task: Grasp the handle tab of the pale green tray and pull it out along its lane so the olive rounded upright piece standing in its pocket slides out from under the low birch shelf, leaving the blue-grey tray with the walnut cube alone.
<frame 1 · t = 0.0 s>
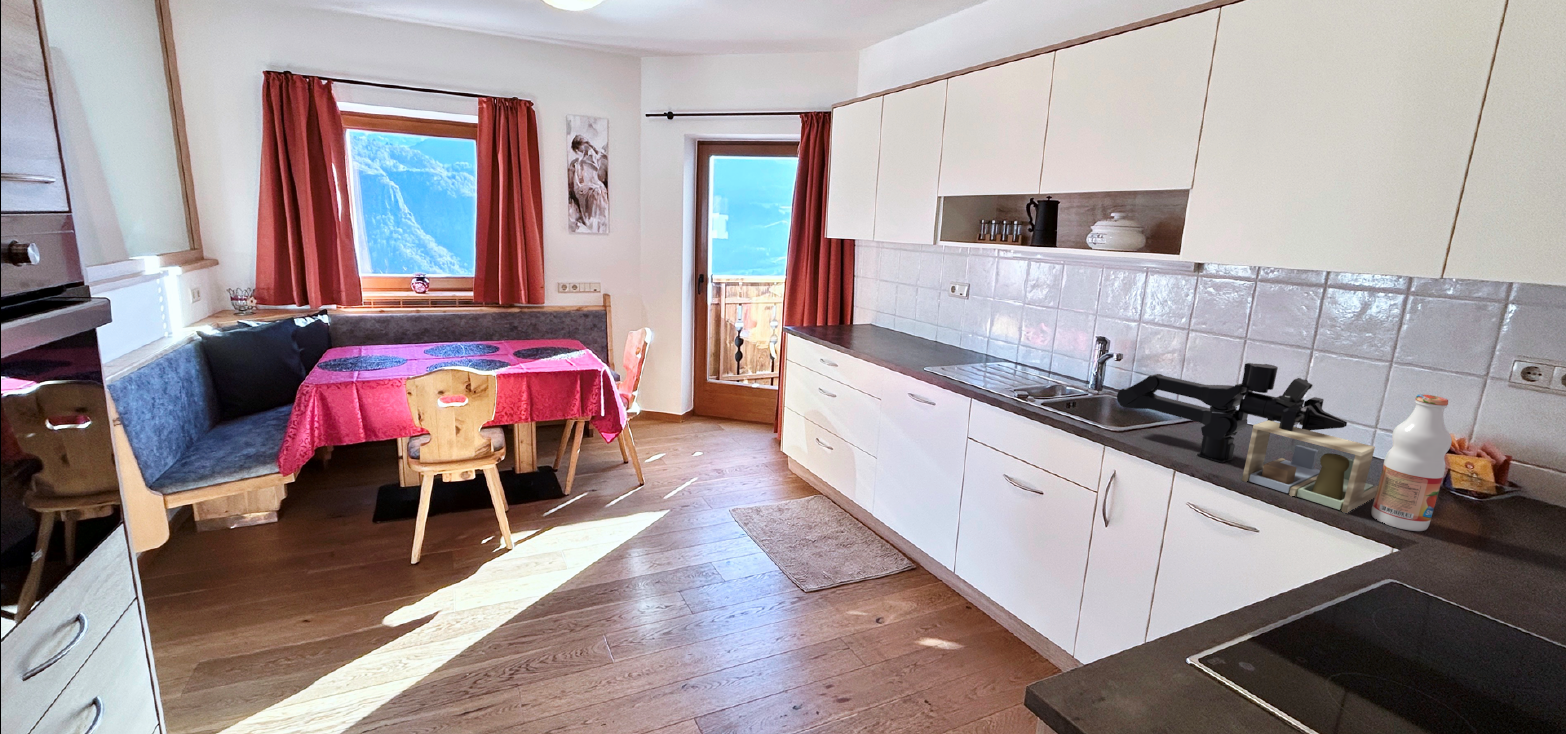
hand: (1345, 424, 159), 17 cm above the worktop, tool horizontal, fingers closed
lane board: (1309, 487, 164), on the worktop
walnut cube: (1276, 485, 165), resting in blue-grey tray
pale green tray: (1338, 481, 159), point 4 cm above the worktop, slide at 0.0 cm
olive rounded upright piece: (1325, 500, 157), resting in pale green tray
fruit juice: (1398, 523, 147), on the worktop
blue-grey tray: (1288, 466, 167), point 4 cm above the worktop, slide at 0.0 cm
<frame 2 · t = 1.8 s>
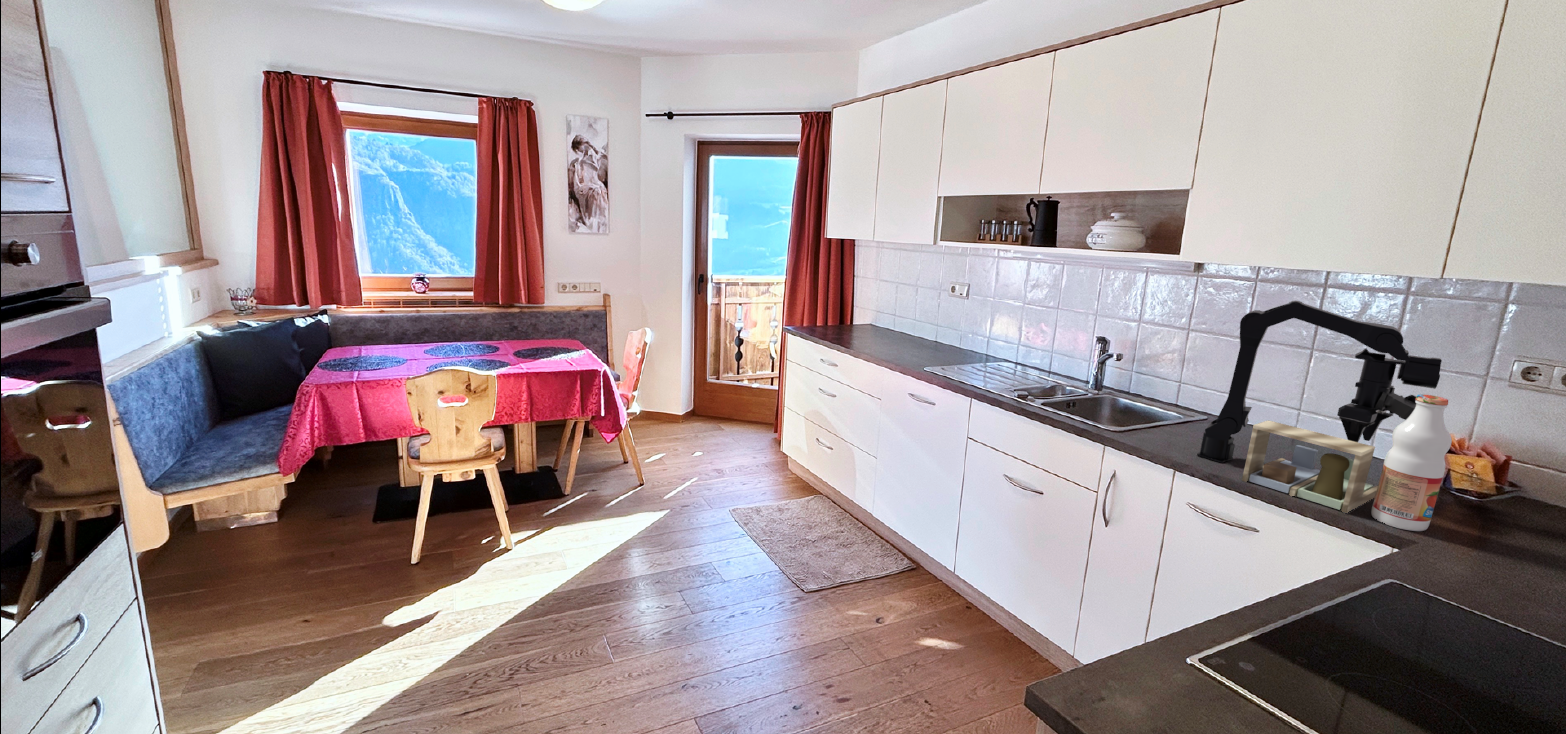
hand: (1359, 443, 163), 11 cm above the worktop, tool pointing down, fingers open, 9 cm apart
nothing on the worktop moved.
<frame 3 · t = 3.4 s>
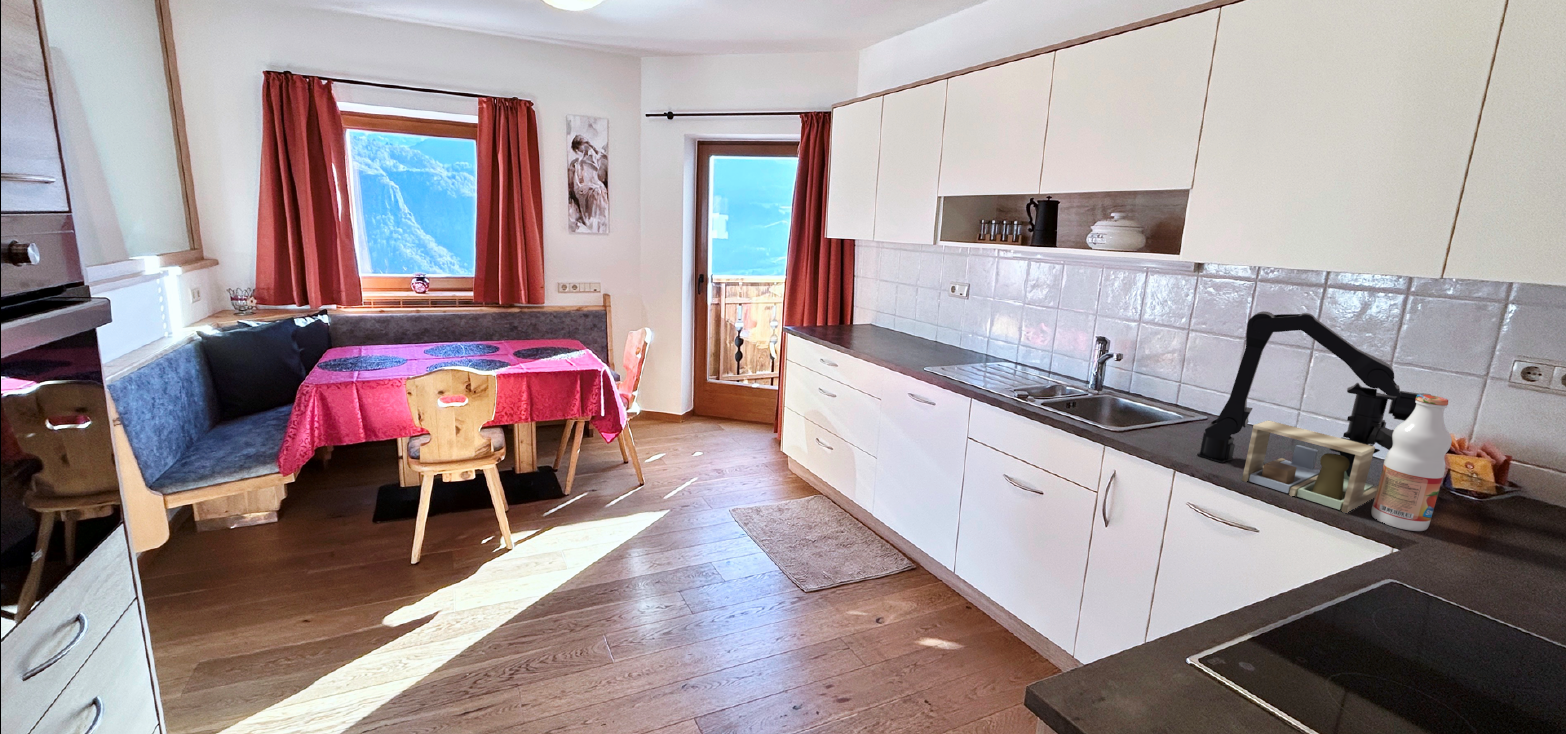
hand: (1351, 476, 165), 3 cm above the worktop, tool pointing down, fingers closed on pale green tray, 2 cm apart
pale green tray: (1338, 481, 159), point 4 cm above the worktop, slide at 0.0 cm, touching gripper
everything else where it was.
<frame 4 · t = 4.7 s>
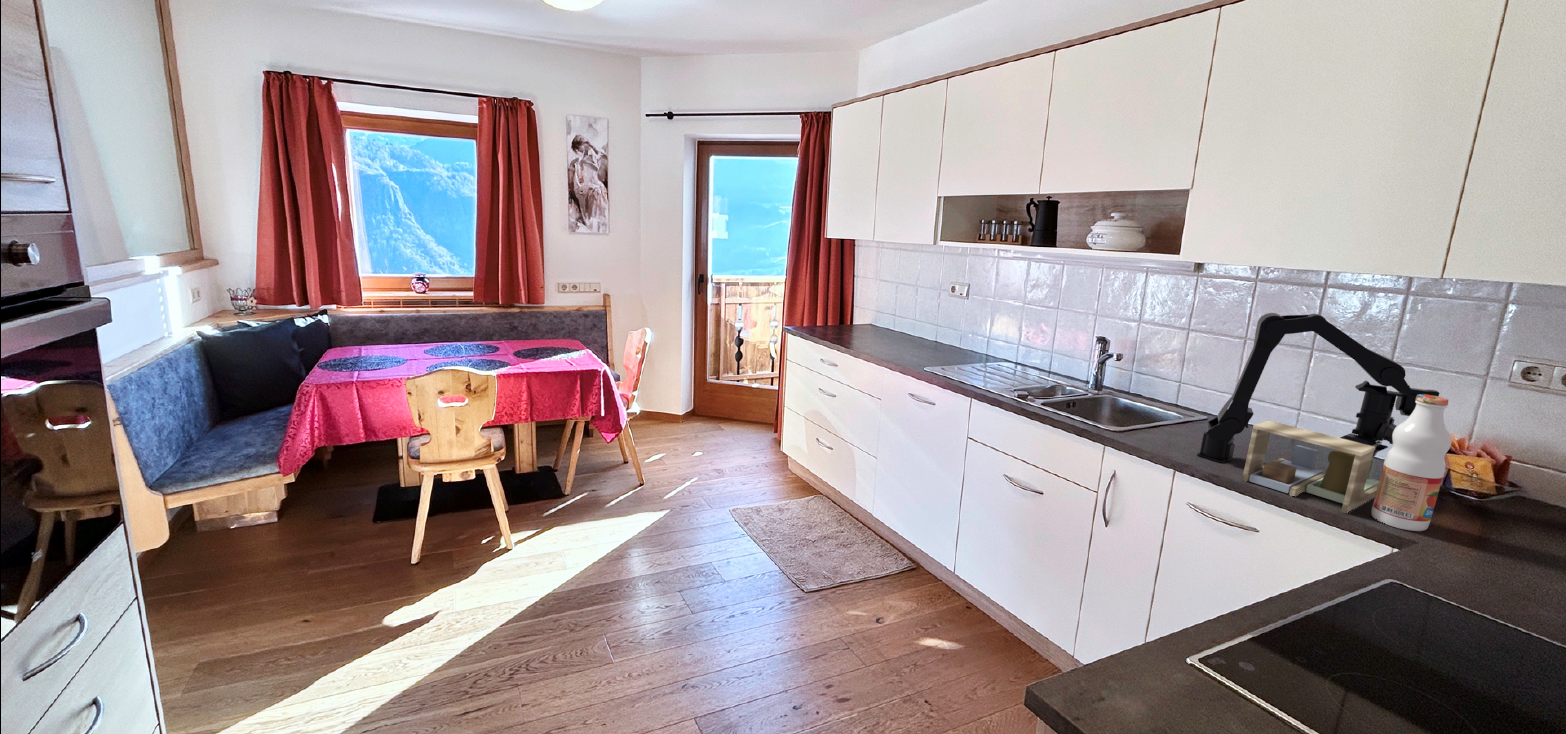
hand: (1359, 472, 168), 3 cm above the worktop, tool pointing down, fingers closed
pale green tray: (1346, 477, 162), point 4 cm above the worktop, slide at 5.1 cm, touching gripper, olive rounded upright piece
olive rounded upright piece: (1333, 497, 160), resting in pale green tray
everything else where it was.
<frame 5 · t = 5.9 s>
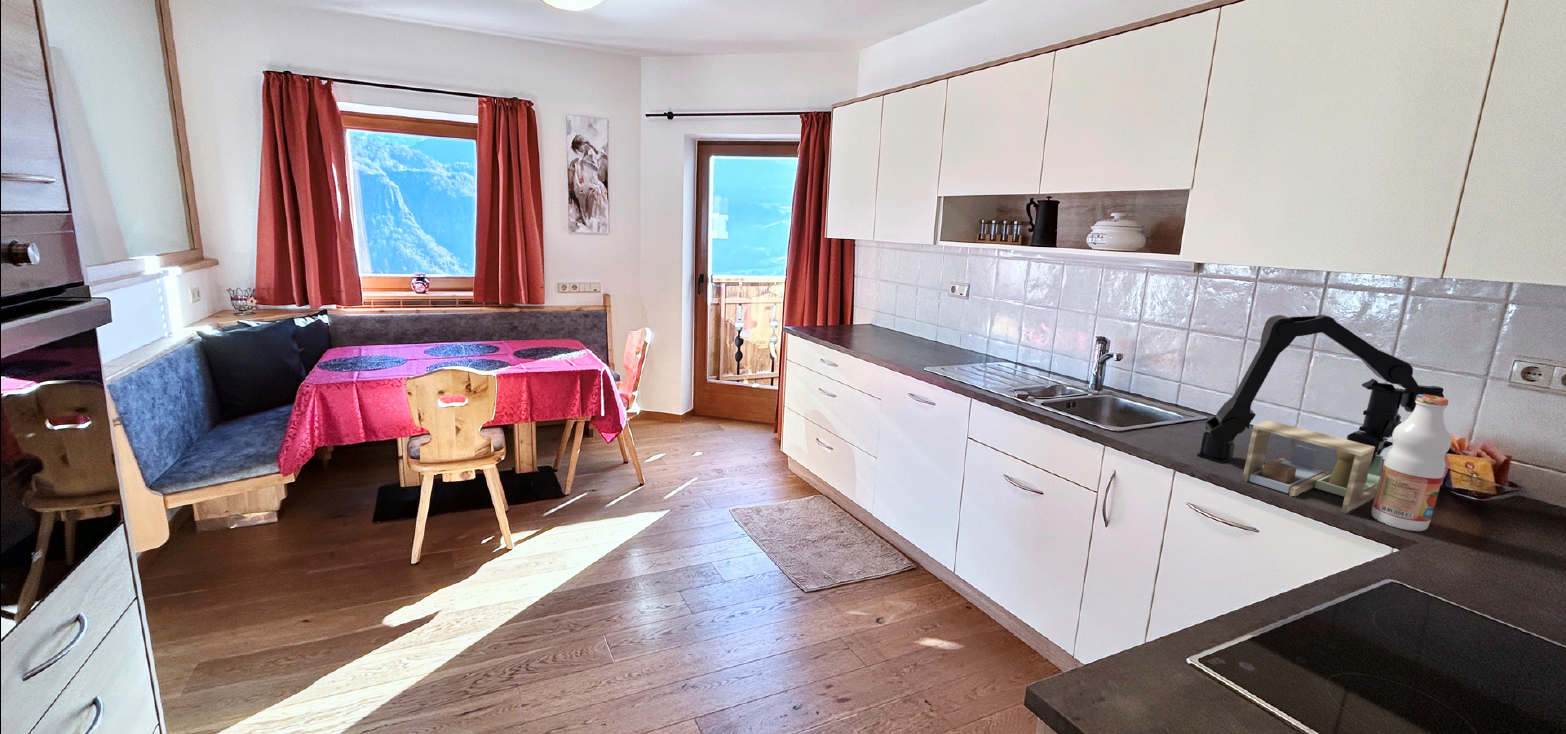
hand: (1367, 468, 170), 3 cm above the worktop, tool pointing down, fingers closed on pale green tray, 2 cm apart
pale green tray: (1354, 473, 165), point 4 cm above the worktop, slide at 10.3 cm, touching gripper, olive rounded upright piece
olive rounded upright piece: (1341, 492, 163), resting in pale green tray
everything else where it was.
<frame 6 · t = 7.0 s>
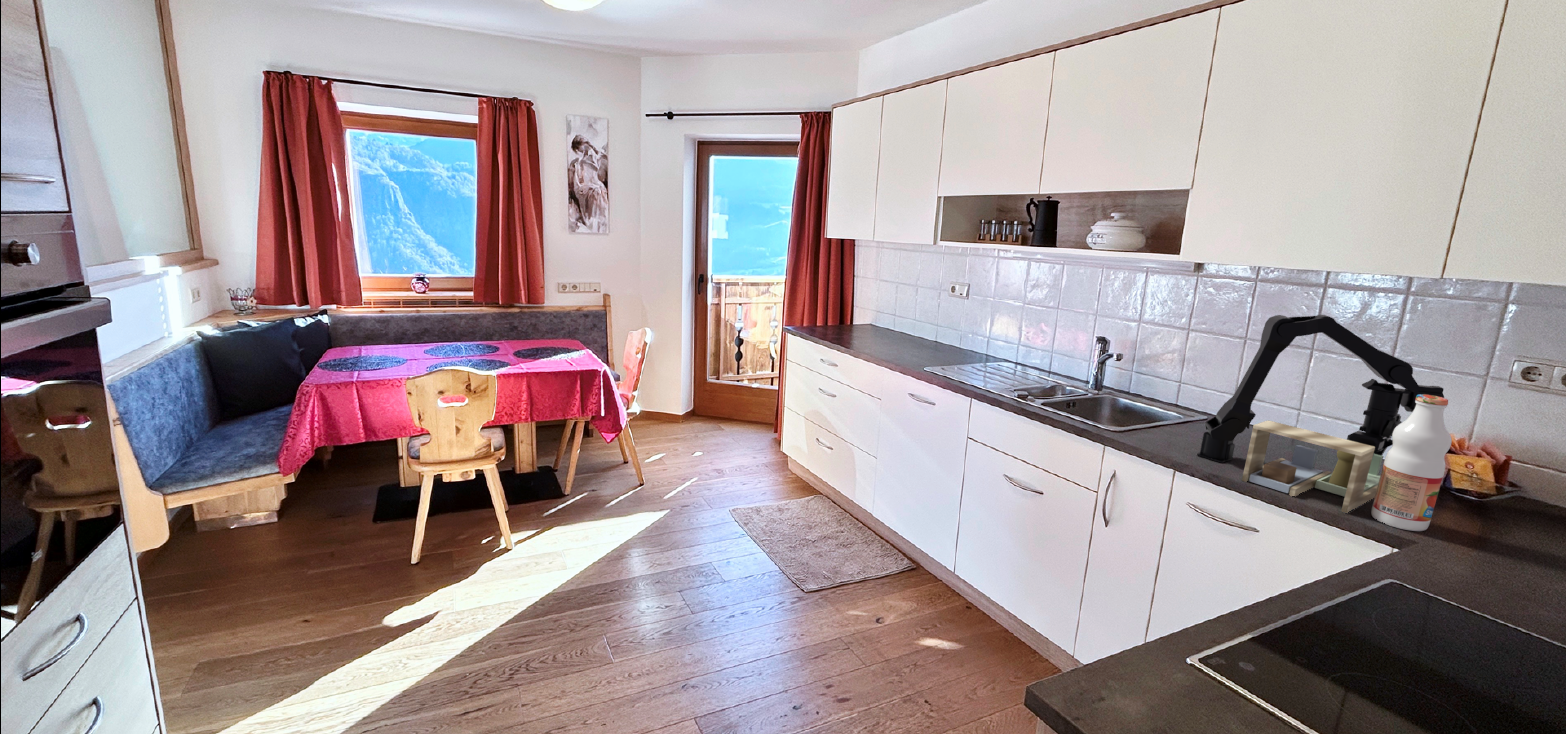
hand: (1367, 468, 170), 3 cm above the worktop, tool pointing down, fingers open, 7 cm apart
pale green tray: (1354, 472, 165), point 4 cm above the worktop, slide at 10.4 cm
olive rounded upright piece: (1341, 492, 163), resting in pale green tray
everything else where it was.
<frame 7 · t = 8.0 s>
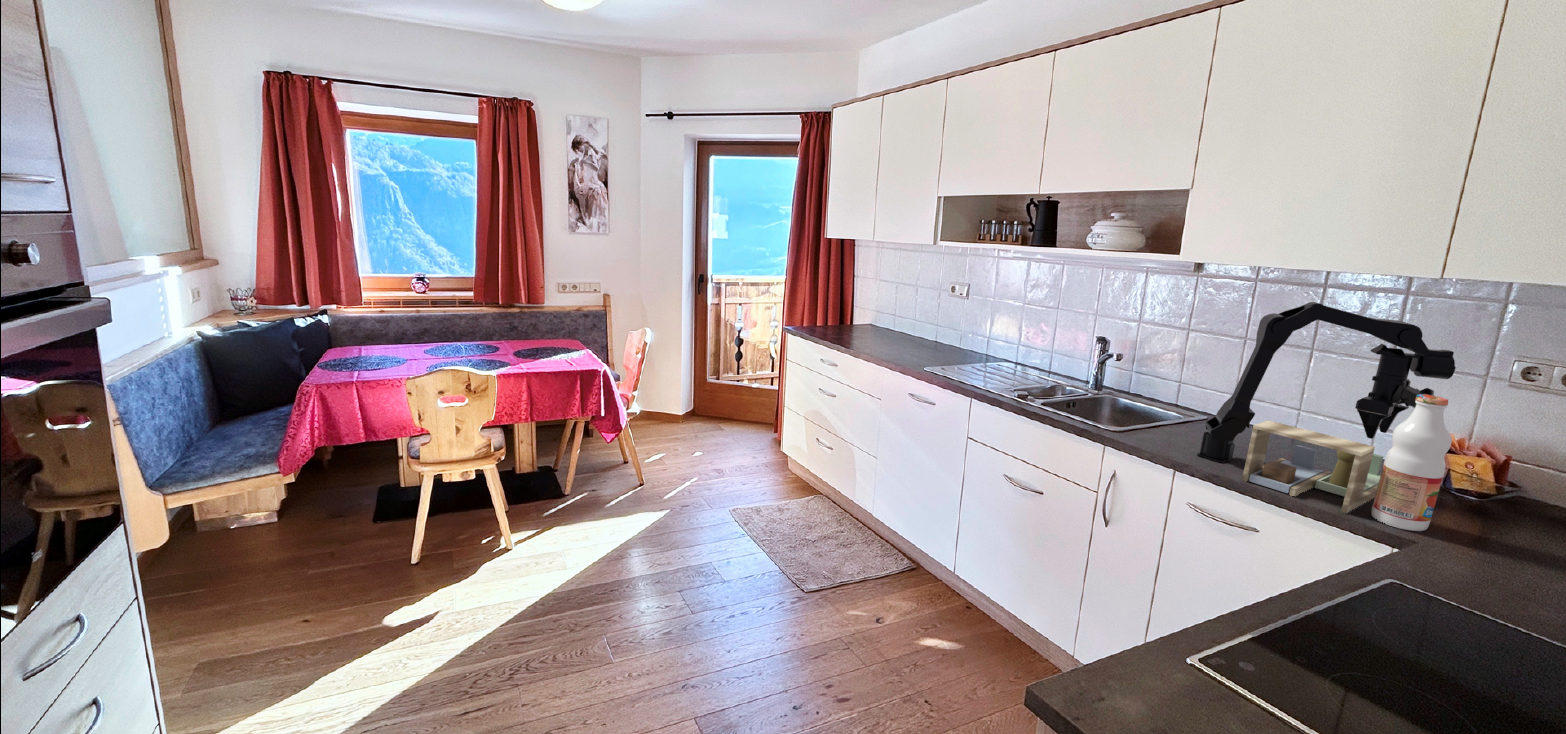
hand: (1376, 435, 168), 12 cm above the worktop, tool pointing down, fingers open, 9 cm apart
nothing on the worktop moved.
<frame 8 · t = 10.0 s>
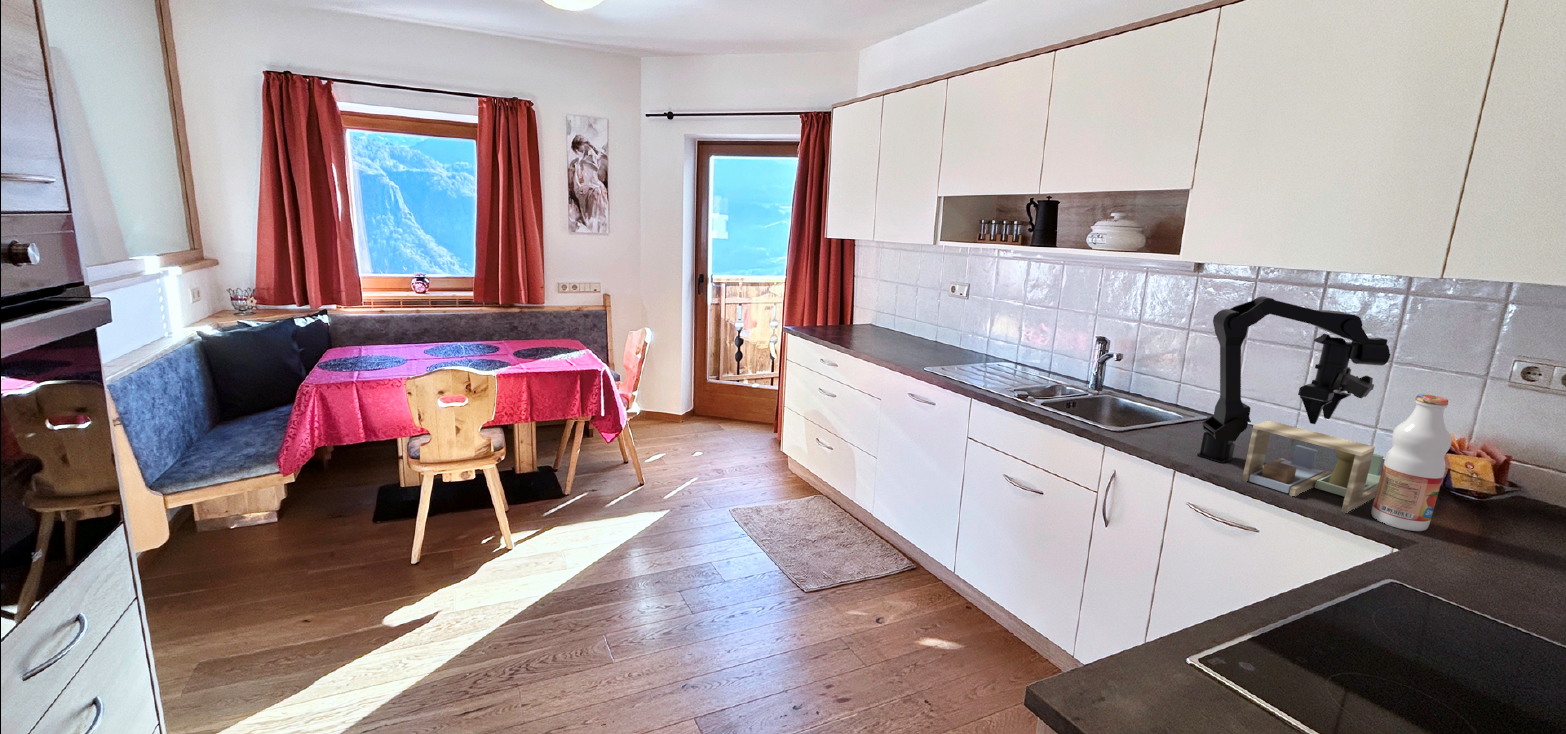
hand: (1319, 421, 176), 13 cm above the worktop, tool pointing down, fingers open, 9 cm apart
nothing on the worktop moved.
at the end: pale green tray slide at 10.4 cm; olive rounded upright piece inside the target area (1.2 cm from its centre), resting in pale green tray; olive rounded upright piece tilted 0° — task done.
